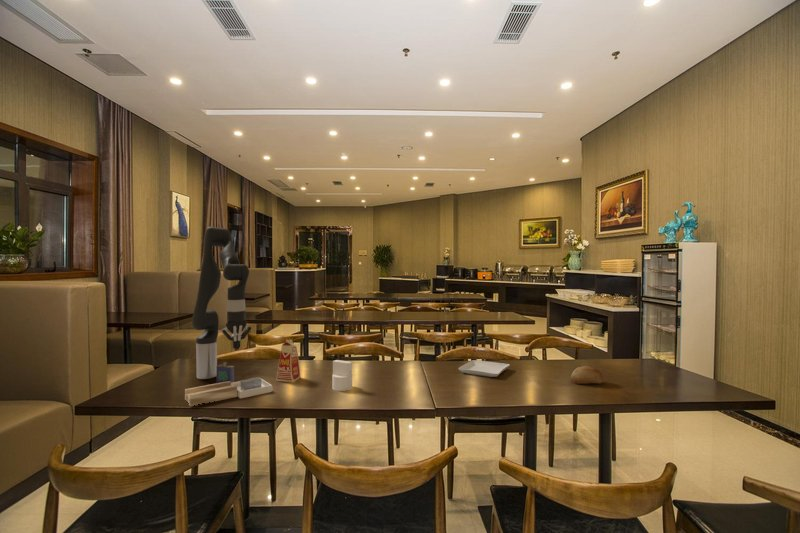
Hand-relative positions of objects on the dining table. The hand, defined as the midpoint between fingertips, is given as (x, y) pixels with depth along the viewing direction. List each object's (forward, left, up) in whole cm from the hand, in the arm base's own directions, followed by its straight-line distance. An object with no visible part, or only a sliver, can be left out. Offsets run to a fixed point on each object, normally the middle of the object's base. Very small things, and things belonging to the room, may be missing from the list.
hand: (236, 349), depth 177 cm
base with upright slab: (+23, +39, -19) cm, 50 cm away
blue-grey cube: (0, +6, -16) cm, 17 cm away
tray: (0, +6, -19) cm, 20 cm away
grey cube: (+1, +4, -18) cm, 19 cm away
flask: (-16, 0, -19) cm, 25 cm away
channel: (0, -11, -19) cm, 22 cm away
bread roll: (+91, +132, -20) cm, 161 cm away
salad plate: (+47, +111, -20) cm, 122 cm away
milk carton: (-6, +27, -19) cm, 33 cm away
